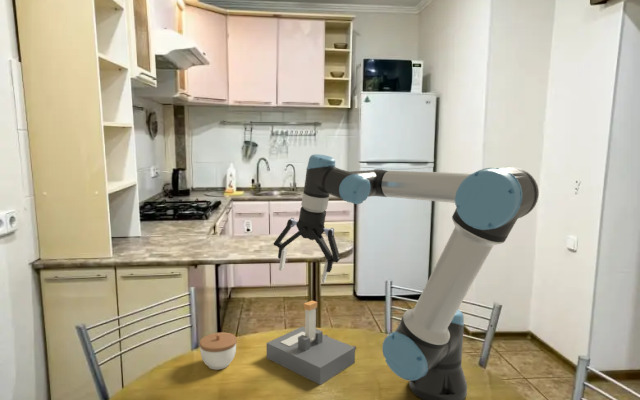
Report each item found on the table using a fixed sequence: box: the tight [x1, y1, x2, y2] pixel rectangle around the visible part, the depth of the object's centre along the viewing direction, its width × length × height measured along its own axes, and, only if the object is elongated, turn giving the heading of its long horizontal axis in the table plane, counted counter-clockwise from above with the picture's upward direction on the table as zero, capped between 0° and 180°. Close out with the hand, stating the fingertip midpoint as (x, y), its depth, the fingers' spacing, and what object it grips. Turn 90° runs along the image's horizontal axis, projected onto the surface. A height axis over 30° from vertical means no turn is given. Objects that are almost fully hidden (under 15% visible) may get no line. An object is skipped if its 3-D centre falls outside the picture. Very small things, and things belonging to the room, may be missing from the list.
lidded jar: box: [199, 331, 237, 371], centre depth 126 cm, size 11×11×9 cm
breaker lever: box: [303, 300, 318, 342], centre depth 128 cm, size 2×4×12 cm, turn 139°
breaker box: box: [266, 326, 356, 386], centre depth 129 cm, size 22×16×8 cm
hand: (302, 274), depth 127 cm, fingers open, 13 cm apart
